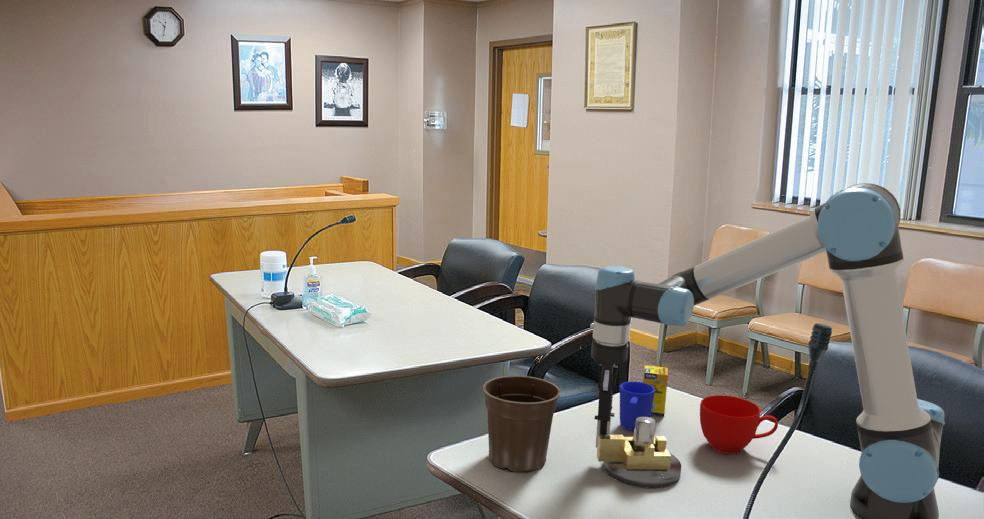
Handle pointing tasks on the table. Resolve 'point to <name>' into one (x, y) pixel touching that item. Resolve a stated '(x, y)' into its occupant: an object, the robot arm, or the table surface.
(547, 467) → the table surface
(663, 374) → the supplement box
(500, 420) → the plant pot
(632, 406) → the mug
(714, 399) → the ceramic cup
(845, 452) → the table surface
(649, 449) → the yellow stepped block
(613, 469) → the round base with post
